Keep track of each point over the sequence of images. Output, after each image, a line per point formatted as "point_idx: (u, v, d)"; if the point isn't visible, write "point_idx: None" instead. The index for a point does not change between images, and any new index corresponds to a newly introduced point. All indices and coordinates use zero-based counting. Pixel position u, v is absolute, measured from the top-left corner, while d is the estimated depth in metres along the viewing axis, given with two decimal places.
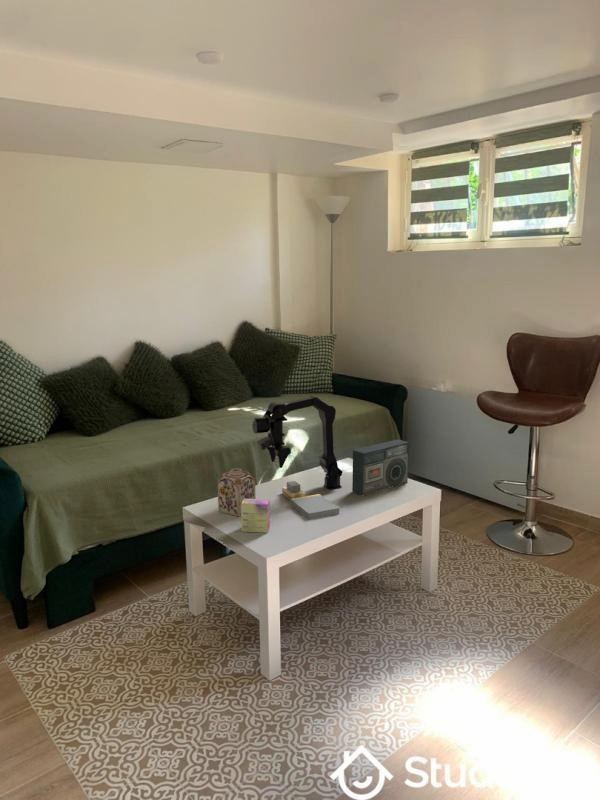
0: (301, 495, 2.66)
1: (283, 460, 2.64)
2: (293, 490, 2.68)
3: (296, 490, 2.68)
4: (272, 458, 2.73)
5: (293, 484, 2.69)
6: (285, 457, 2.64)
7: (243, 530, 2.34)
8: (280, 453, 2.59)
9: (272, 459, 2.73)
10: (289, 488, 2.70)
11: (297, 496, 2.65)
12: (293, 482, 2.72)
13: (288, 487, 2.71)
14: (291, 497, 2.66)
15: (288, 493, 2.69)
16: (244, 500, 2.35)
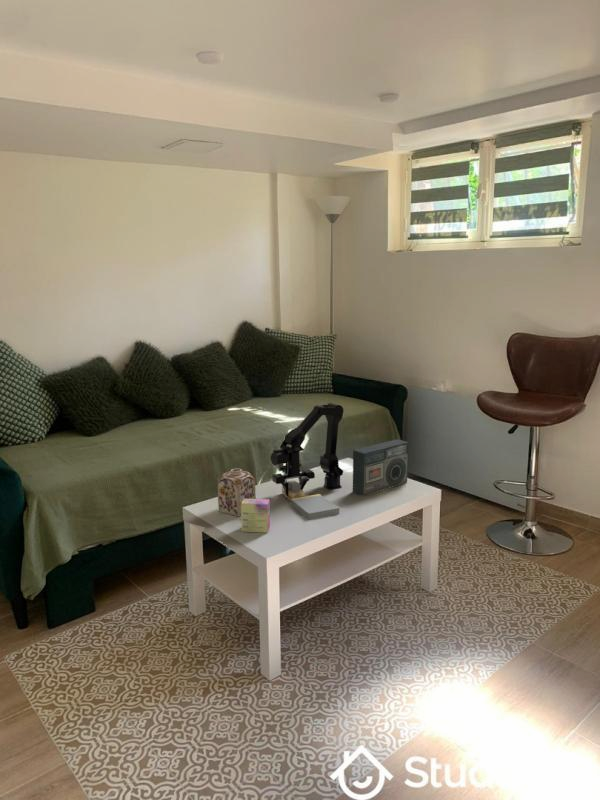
0: (301, 495, 2.66)
1: (285, 489, 2.68)
2: (293, 490, 2.67)
3: (296, 489, 2.68)
4: None
5: (293, 484, 2.69)
6: (285, 486, 2.67)
7: (243, 530, 2.34)
8: (272, 479, 2.68)
9: None
10: (289, 488, 2.70)
11: (297, 496, 2.65)
12: (293, 482, 2.71)
13: (288, 487, 2.71)
14: (291, 497, 2.66)
15: (288, 493, 2.69)
16: (244, 500, 2.35)
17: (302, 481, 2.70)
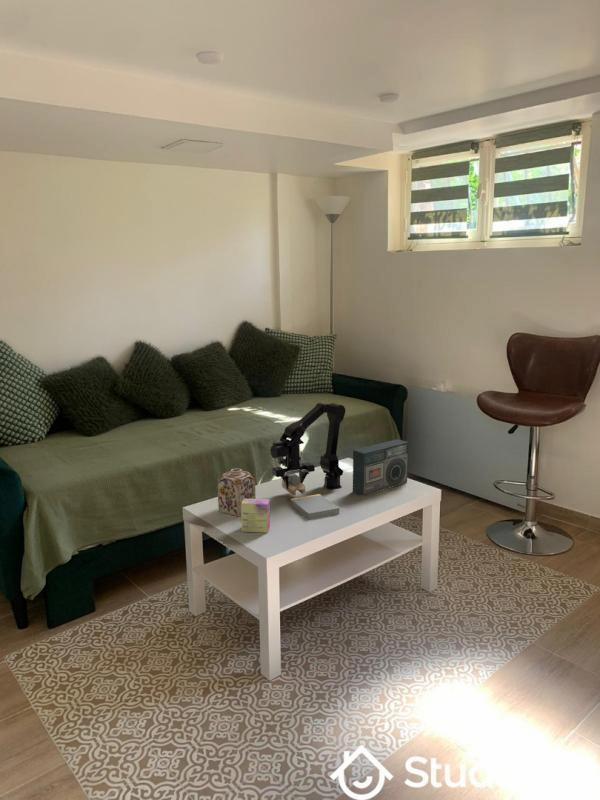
0: (301, 488, 2.65)
1: (285, 482, 2.67)
2: (293, 483, 2.67)
3: (296, 482, 2.67)
4: None
5: (293, 477, 2.68)
6: (284, 479, 2.66)
7: (243, 530, 2.34)
8: (272, 472, 2.67)
9: None
10: (289, 481, 2.69)
11: (297, 489, 2.65)
12: (293, 475, 2.71)
13: (288, 480, 2.70)
14: (291, 490, 2.65)
15: (288, 486, 2.68)
16: (244, 500, 2.35)
17: (302, 475, 2.69)
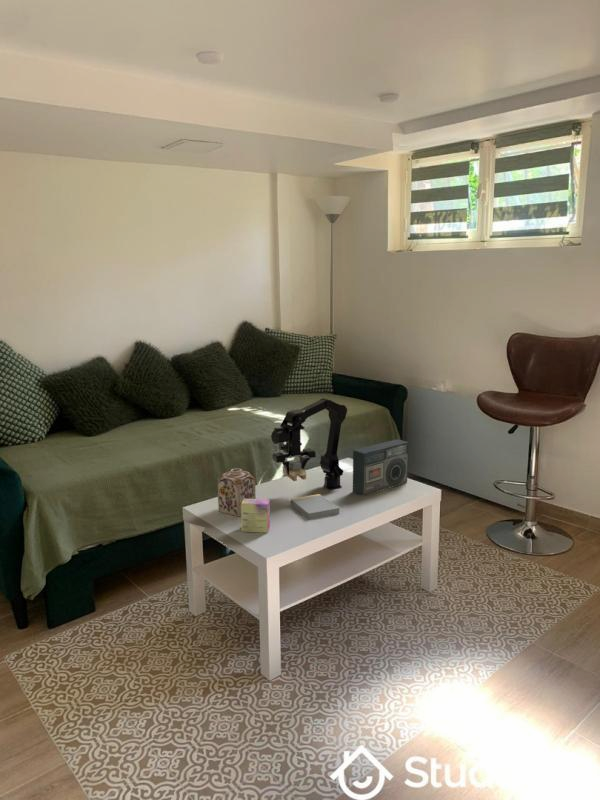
0: (302, 473, 2.64)
1: (285, 468, 2.66)
2: (294, 469, 2.65)
3: (297, 468, 2.66)
4: None
5: (294, 463, 2.66)
6: (285, 465, 2.64)
7: (243, 530, 2.34)
8: (272, 457, 2.65)
9: None
10: (290, 467, 2.67)
11: (298, 474, 2.63)
12: (294, 461, 2.69)
13: (289, 466, 2.68)
14: (292, 475, 2.64)
15: (289, 472, 2.66)
16: (244, 500, 2.35)
17: (303, 461, 2.67)
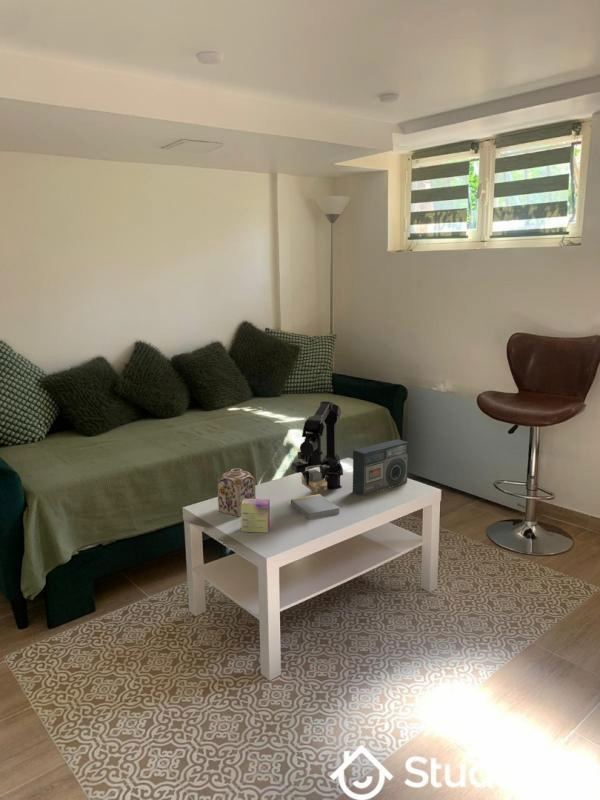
0: (322, 484, 2.50)
1: (305, 478, 2.52)
2: (314, 479, 2.51)
3: (318, 478, 2.52)
4: None
5: (314, 472, 2.53)
6: (305, 475, 2.51)
7: (243, 530, 2.34)
8: (291, 467, 2.52)
9: None
10: (309, 477, 2.54)
11: (318, 485, 2.49)
12: (314, 470, 2.55)
13: None
14: (312, 486, 2.50)
15: None
16: (244, 500, 2.35)
17: (324, 470, 2.54)
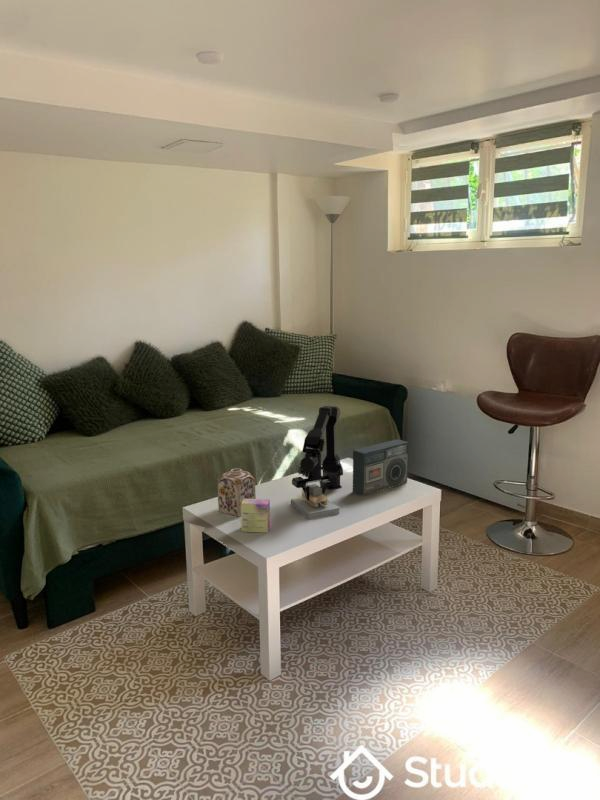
0: (323, 499, 2.51)
1: (306, 493, 2.53)
2: (314, 494, 2.53)
3: (318, 493, 2.53)
4: None
5: (315, 487, 2.54)
6: (305, 490, 2.52)
7: (243, 530, 2.34)
8: (292, 482, 2.53)
9: None
10: (310, 492, 2.55)
11: (319, 500, 2.50)
12: (314, 485, 2.57)
13: (309, 491, 2.56)
14: (312, 501, 2.51)
15: (309, 497, 2.54)
16: (244, 500, 2.35)
17: (324, 485, 2.55)
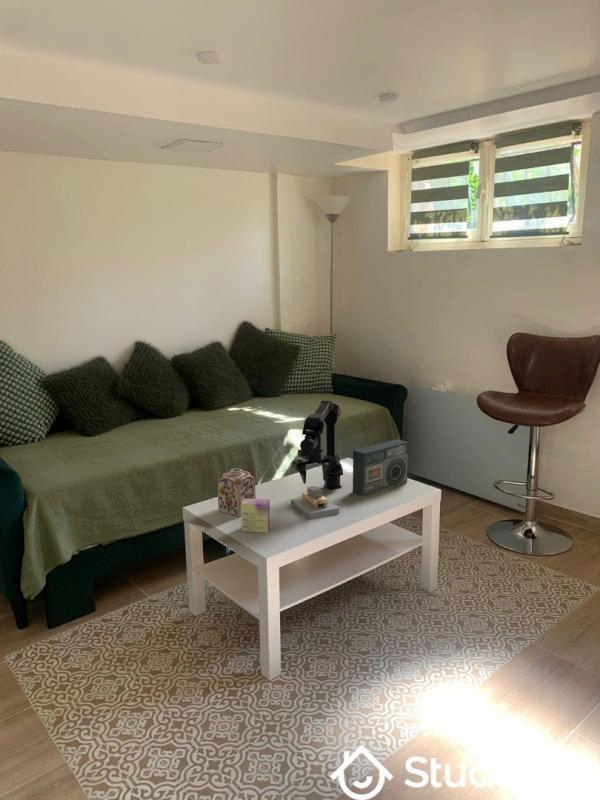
0: (323, 501, 2.51)
1: (302, 476, 2.52)
2: (315, 496, 2.53)
3: (318, 495, 2.53)
4: (323, 476, 2.57)
5: (315, 489, 2.54)
6: (302, 474, 2.50)
7: (243, 530, 2.34)
8: (292, 465, 2.52)
9: (323, 477, 2.57)
10: (310, 494, 2.55)
11: (319, 502, 2.51)
12: (314, 487, 2.57)
13: (309, 493, 2.56)
14: (312, 503, 2.51)
15: (309, 499, 2.54)
16: (244, 500, 2.35)
17: (327, 468, 2.54)
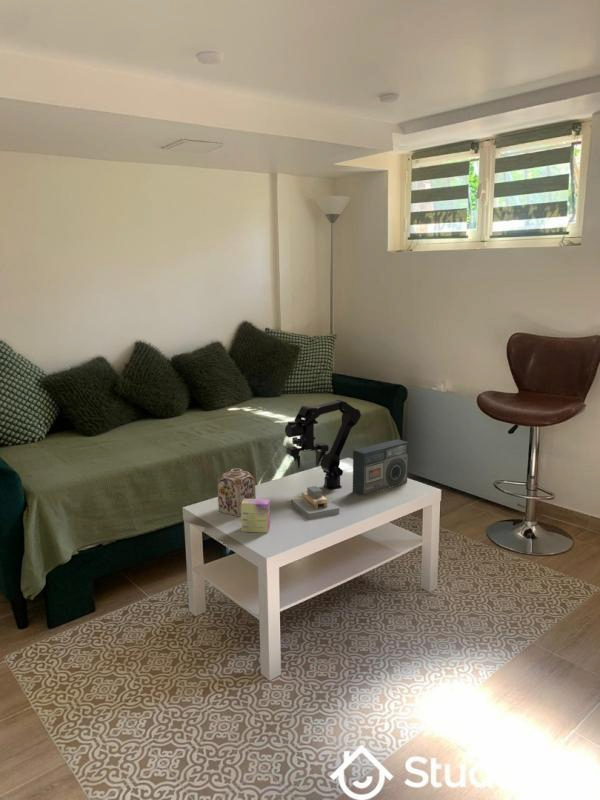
0: (323, 501, 2.51)
1: (296, 462, 2.70)
2: (315, 496, 2.53)
3: (318, 495, 2.53)
4: (316, 462, 2.76)
5: (315, 489, 2.54)
6: (296, 459, 2.69)
7: (243, 530, 2.34)
8: (286, 451, 2.71)
9: (316, 463, 2.76)
10: (310, 494, 2.55)
11: (319, 502, 2.51)
12: (314, 487, 2.57)
13: (309, 493, 2.56)
14: (312, 503, 2.51)
15: (309, 499, 2.54)
16: (244, 500, 2.35)
17: (319, 454, 2.73)
